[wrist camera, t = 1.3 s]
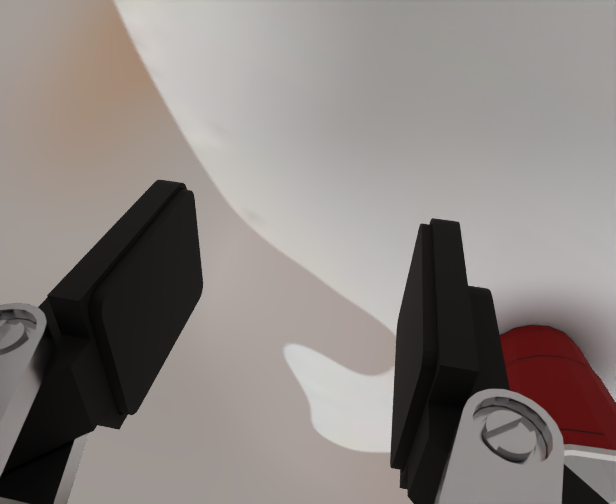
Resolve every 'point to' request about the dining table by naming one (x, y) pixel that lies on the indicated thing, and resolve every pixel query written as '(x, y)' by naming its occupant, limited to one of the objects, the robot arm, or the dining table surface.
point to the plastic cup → (567, 400)
